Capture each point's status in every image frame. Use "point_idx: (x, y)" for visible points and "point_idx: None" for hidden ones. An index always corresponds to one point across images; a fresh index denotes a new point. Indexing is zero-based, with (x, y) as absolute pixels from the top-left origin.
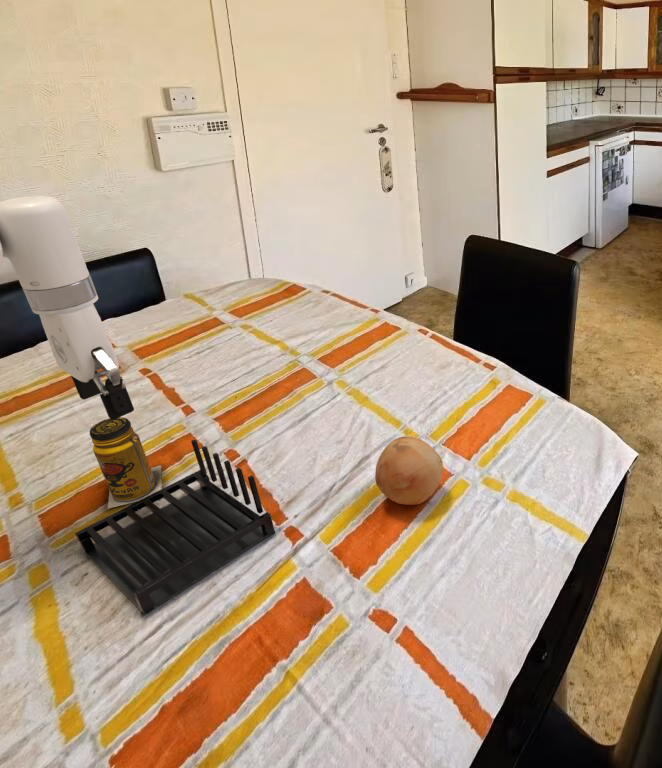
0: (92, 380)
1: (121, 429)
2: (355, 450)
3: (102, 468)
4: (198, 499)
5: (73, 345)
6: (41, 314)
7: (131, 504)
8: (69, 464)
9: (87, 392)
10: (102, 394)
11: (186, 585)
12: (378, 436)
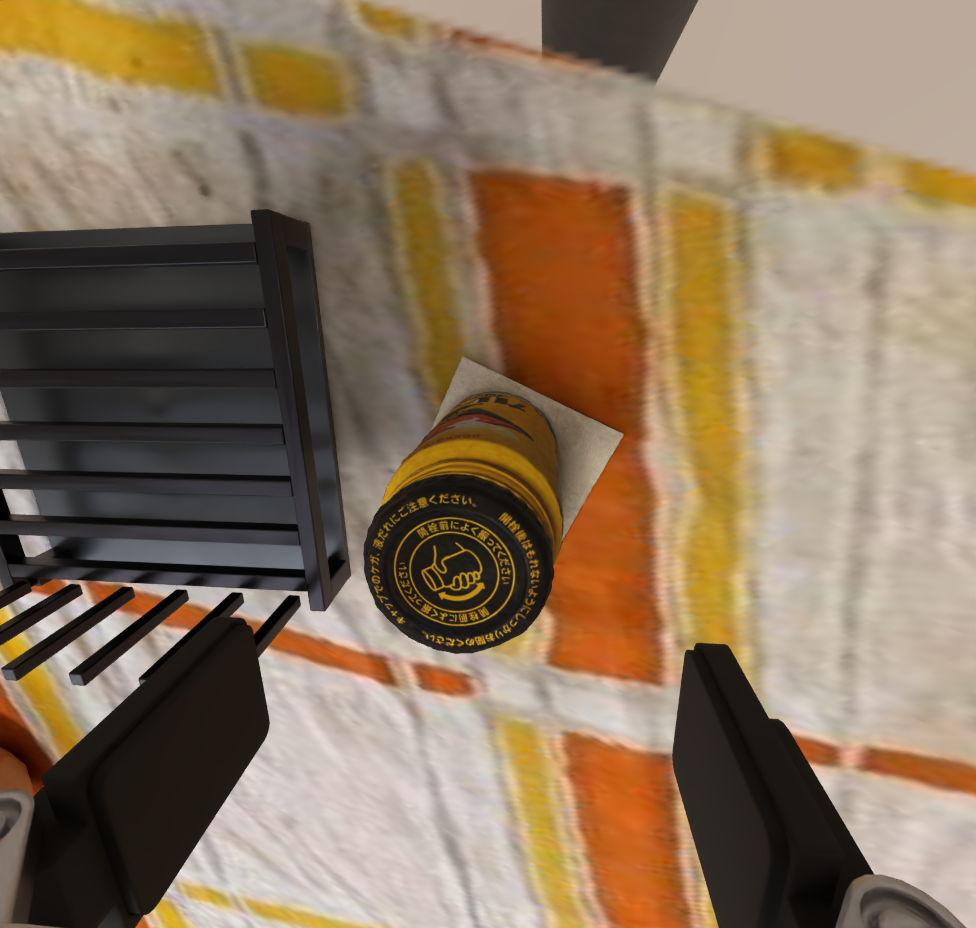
0: (714, 843)
1: (372, 591)
2: (231, 815)
3: (465, 419)
4: (179, 527)
5: None
6: None
7: (294, 399)
8: (865, 383)
9: (695, 711)
10: (59, 794)
11: None
12: (245, 865)
